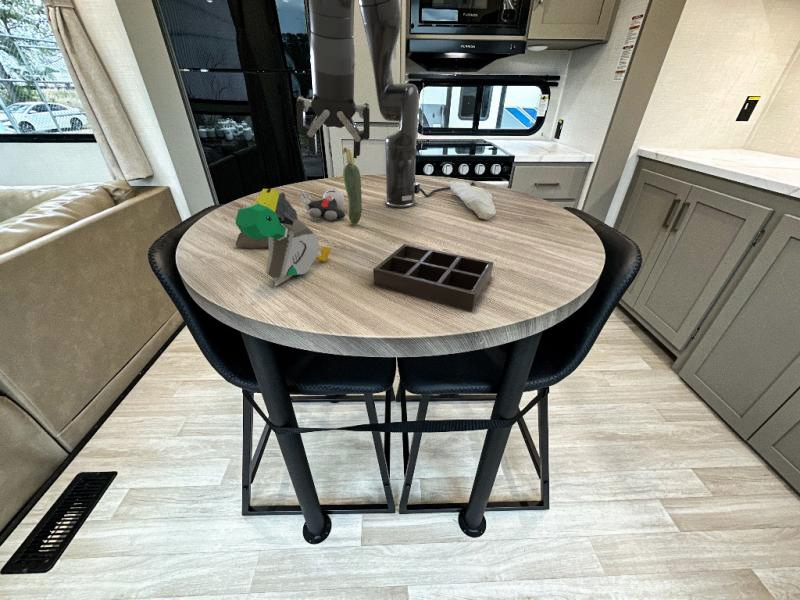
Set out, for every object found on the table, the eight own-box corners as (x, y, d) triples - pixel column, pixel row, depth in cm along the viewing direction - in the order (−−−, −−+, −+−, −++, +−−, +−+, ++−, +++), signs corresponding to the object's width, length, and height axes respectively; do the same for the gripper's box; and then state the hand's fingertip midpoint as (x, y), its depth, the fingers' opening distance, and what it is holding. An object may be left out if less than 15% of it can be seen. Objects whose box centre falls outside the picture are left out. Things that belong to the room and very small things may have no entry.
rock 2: (446, 193, 118) (461, 219, 92) (449, 178, 115) (465, 200, 89) (484, 198, 119) (509, 224, 93) (488, 183, 116) (515, 206, 90)
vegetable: (366, 224, 91) (361, 146, 80) (358, 229, 88) (352, 149, 77) (352, 222, 92) (346, 145, 81) (344, 227, 89) (337, 148, 78)
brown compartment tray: (403, 258, 73) (404, 243, 71) (490, 277, 65) (493, 262, 64) (373, 285, 63) (372, 269, 61) (472, 311, 55) (474, 294, 54)
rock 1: (218, 223, 73) (277, 203, 71) (236, 206, 82) (289, 187, 79) (247, 264, 79) (301, 246, 77) (261, 244, 88) (310, 227, 86)
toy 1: (336, 223, 71) (270, 180, 53) (320, 297, 70) (246, 279, 52) (313, 221, 74) (242, 180, 56) (297, 292, 73) (219, 274, 55)
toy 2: (286, 202, 89) (304, 182, 101) (291, 224, 93) (307, 203, 105) (341, 206, 88) (352, 186, 100) (343, 228, 93) (354, 206, 104)
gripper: (372, 64, 61) (368, 150, 73) (294, 54, 59) (303, 143, 71) (373, 77, 56) (368, 166, 68) (288, 66, 54) (298, 160, 66)
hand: (335, 155), depth 69 cm, fingers open, 8 cm apart
